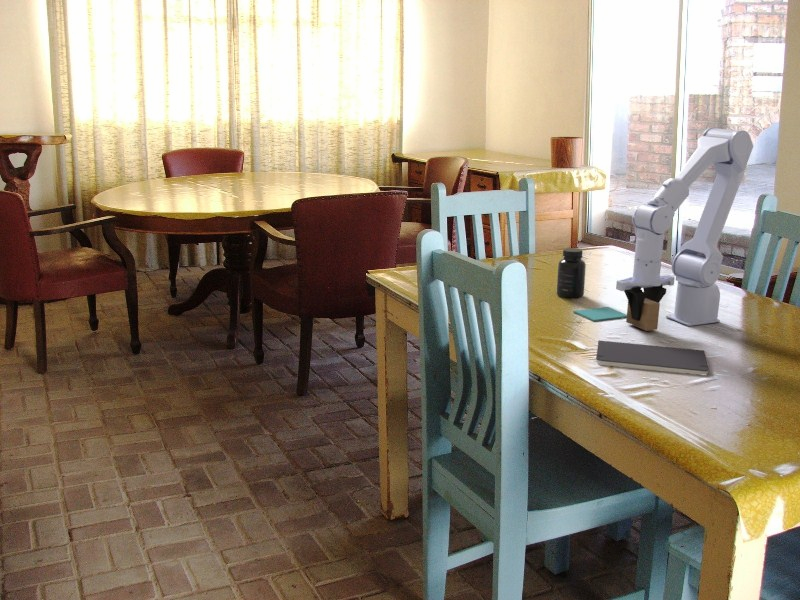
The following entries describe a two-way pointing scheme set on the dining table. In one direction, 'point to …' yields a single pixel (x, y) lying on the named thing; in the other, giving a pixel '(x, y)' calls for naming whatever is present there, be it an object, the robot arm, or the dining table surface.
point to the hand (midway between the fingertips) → (642, 318)
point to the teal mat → (600, 314)
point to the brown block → (646, 315)
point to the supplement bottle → (571, 274)
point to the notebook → (652, 357)
